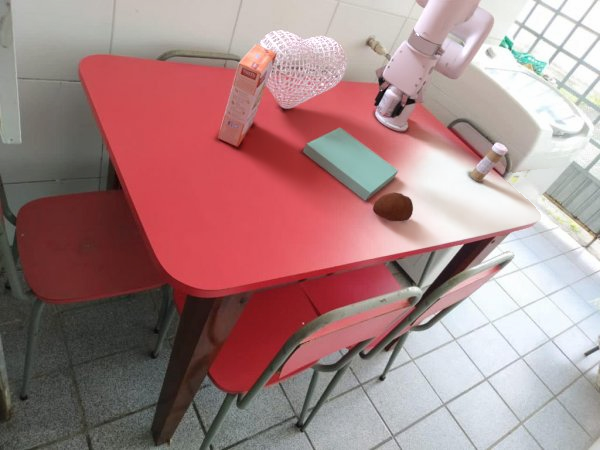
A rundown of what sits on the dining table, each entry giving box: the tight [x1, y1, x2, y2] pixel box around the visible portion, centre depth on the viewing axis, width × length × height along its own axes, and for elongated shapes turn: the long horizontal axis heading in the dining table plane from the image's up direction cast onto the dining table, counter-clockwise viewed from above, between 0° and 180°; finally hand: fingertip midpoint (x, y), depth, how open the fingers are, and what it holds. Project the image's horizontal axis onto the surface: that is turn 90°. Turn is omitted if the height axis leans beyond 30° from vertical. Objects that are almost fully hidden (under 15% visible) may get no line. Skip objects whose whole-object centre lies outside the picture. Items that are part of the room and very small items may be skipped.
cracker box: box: [217, 43, 278, 148], centre depth 101 cm, size 14×6×21 cm, turn 168°
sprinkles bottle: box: [469, 142, 508, 183], centre depth 134 cm, size 5×5×13 cm
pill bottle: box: [375, 85, 404, 119], centre depth 105 cm, size 5×5×8 cm
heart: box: [258, 29, 348, 110], centre depth 118 cm, size 28×16×22 cm, turn 123°
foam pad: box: [302, 127, 399, 202], centre depth 115 cm, size 18×22×3 cm
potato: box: [372, 191, 414, 222], centre depth 103 cm, size 8×12×8 cm, turn 110°
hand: (385, 110), depth 107 cm, fingers closed on pill bottle, 4 cm apart
